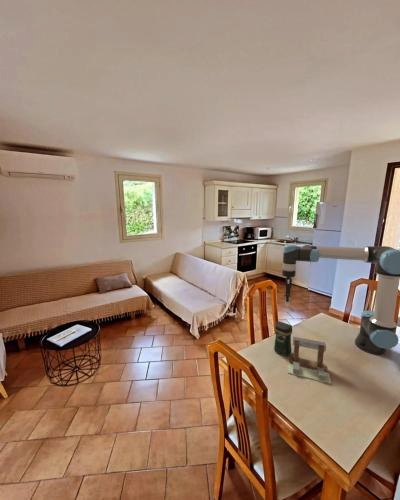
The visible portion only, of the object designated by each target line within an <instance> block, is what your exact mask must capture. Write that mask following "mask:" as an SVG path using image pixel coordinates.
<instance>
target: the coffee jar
mask: <svg viewBox="0 0 400 500" xmlns="http://www.w3.org/2000/svg"><path fill="white" fill-rule="evenodd" d="M274 331H275V339H274V346H273V350H274V351H275V352H276V353H277V354H280V355H281V356H284V357H288V356H291V354H292V333H293V325H291V324H289V323H286V322H282V321H280V320H278V321H277V322H276V323H275V325H274Z"/></svg>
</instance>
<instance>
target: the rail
mask: <svg viewBox="0 0 400 500" xmlns="http://www.w3.org/2000/svg"><path fill="white" fill-rule="evenodd" d="M295 342H299V343H300V345H299V347H302V348H307V349H312V350H316V351H318V350H319V346H320V347H324V352H326V351H327V350H326V349H327V344H326V342H325V341H324V342H323V341H318V340H314V339H309V338H308V339H307V338H303V337H297V336H293V337H292V345H293V346H294V345H295Z"/></svg>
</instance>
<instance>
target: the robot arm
mask: <svg viewBox="0 0 400 500" xmlns="http://www.w3.org/2000/svg"><path fill="white" fill-rule="evenodd" d="M282 253H283V255H282V264H281V266H282V272H281V273H282V277H285V279H284V282H285V283H284V284H285V294H283V295H284V307H288V308H290V305H291V304H290V303H291V289H292V283H293V278H294V277H295V276H296V269H297V262H309V263H310V262H311V263H318V262H319V259H330V260H331V259H332V260H343V261H344V260H347V261H361V262H364V263H368V264H369V263H370V264H373V265H375V274H376V275H377V276H378V277H377V285H376V293H375V299H374V300H375V301H374V309H373V310H363V311H362V312H361V315H360V317H361V319H360V327H359V332H358V334H357V336H356V338H355V341H354V344H355V345H356V347H357V348H358V349H360V350H361V351H364V352H366V353H369V354H371V355H383V354H386V350H389V349H392V348H395V347H396V346H397V345H398V344H399V336H398V335H397V327H398V326H397V323H396V322H395V321H394V319H395V314H396V313H395V312H396V306H397V299H398V295H399V294H398V293H399V286H400V250H399V249H397V248H393V247H392V246H386V245H385V246H384V245H379V246H377V245H375V246H364V247H348V246H347V247H346V246H324V245H323V246H321V245H310V244H304V245H302V246H301V247H300V248H298V246H297V245H296V244H285V245H284V246H283V252H282Z"/></svg>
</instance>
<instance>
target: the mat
mask: <svg viewBox="0 0 400 500" xmlns="http://www.w3.org/2000/svg"><path fill="white" fill-rule="evenodd" d="M287 374H289V375H293V376H297V377H301V378H306V379H309V380H314V381H318V382H321V383H325V384H329V385H330V384H332V381H331V377H330V372H327V371H325V370H324V368H320V367H318V369H314V368H309V367H305V366H301V365H299V363H297V362H293V364H292V363H288V364H287Z"/></svg>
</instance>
